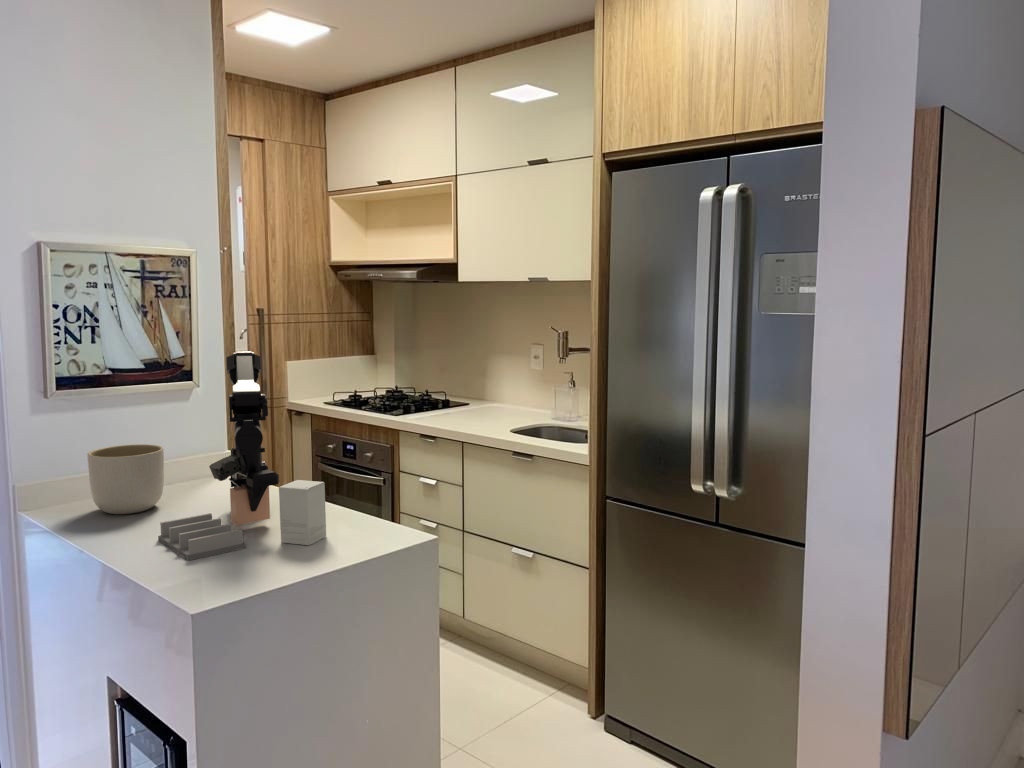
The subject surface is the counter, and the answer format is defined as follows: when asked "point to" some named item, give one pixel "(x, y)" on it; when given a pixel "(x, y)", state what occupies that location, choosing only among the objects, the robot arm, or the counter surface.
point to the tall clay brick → (247, 507)
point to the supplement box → (302, 512)
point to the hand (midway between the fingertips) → (250, 509)
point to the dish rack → (200, 536)
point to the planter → (126, 477)
